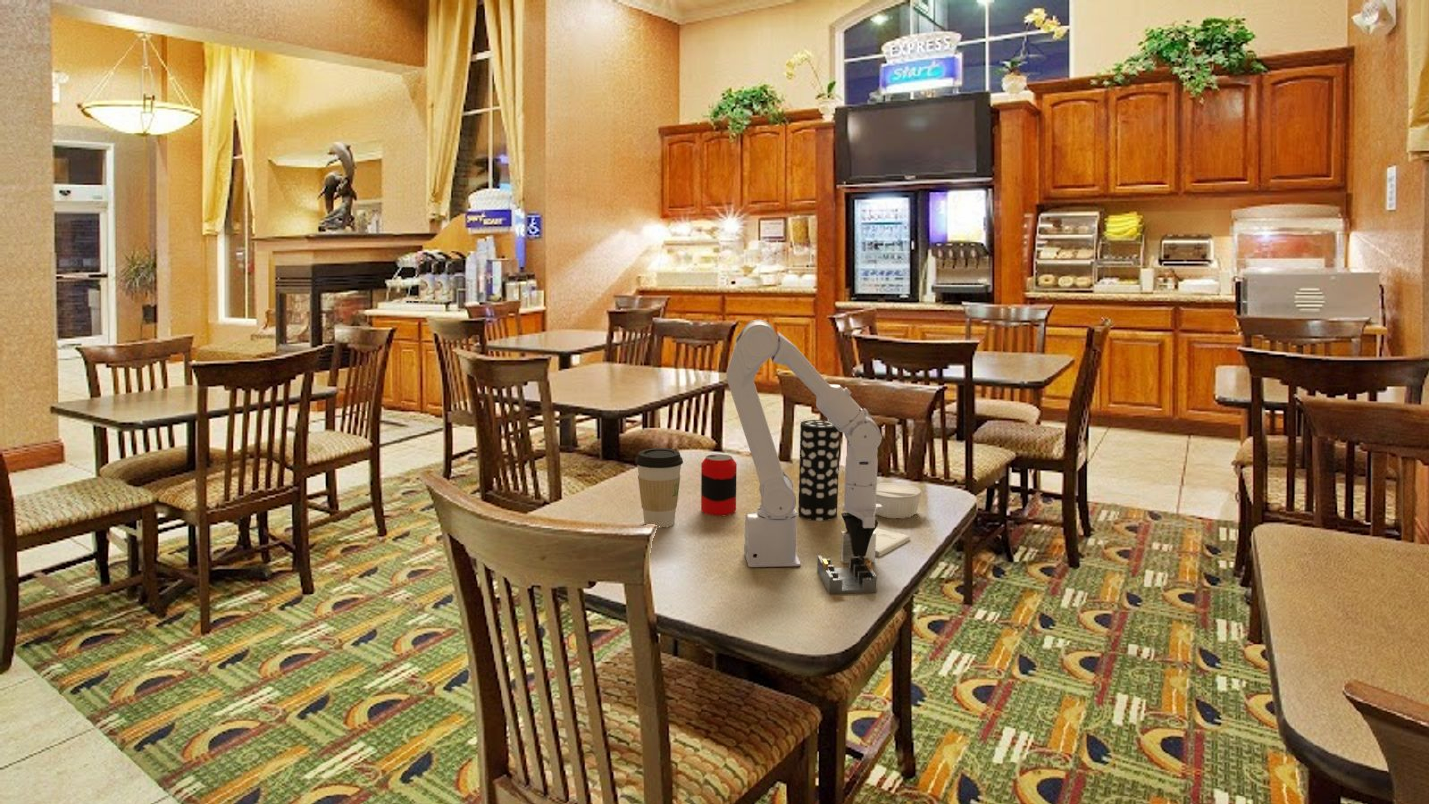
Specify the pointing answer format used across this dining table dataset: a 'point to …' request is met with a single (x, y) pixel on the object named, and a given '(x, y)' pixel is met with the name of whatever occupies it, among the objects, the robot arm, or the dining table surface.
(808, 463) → the spotted tube
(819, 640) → the dining table surface
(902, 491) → the ramekin
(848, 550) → the grey flat square block
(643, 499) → the coffee cup
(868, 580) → the rack
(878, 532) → the external hard drive
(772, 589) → the dining table surface
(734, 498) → the soda can
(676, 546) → the dining table surface
